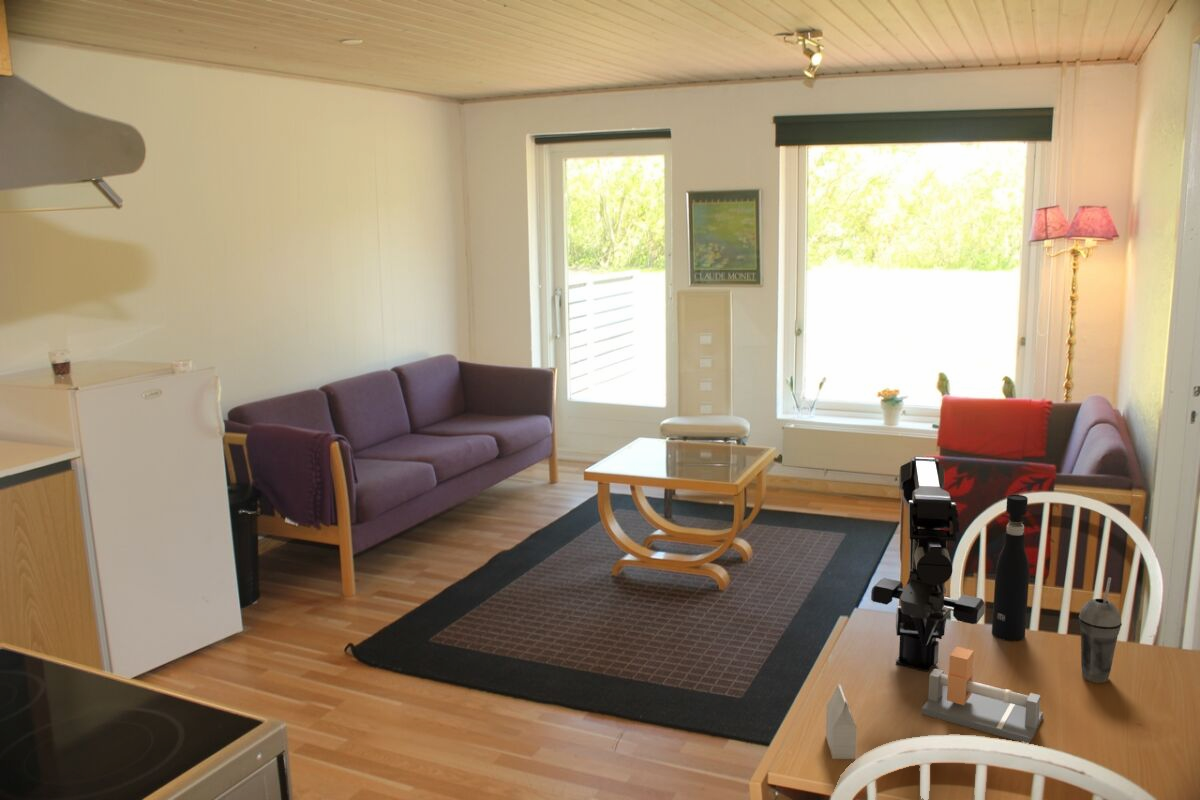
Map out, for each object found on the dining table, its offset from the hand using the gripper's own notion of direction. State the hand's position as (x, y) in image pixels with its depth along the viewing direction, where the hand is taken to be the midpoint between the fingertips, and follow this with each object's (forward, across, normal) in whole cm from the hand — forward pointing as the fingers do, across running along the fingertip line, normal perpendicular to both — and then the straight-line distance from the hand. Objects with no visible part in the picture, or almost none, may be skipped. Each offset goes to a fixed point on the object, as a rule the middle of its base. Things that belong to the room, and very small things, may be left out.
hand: (924, 644), depth 176 cm
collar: (+8, +7, 0) cm, 11 cm away
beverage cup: (+11, +24, +26) cm, 37 cm away
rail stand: (+11, +11, 0) cm, 15 cm away
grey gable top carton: (+11, -6, -23) cm, 27 cm away
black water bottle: (+11, +6, +36) cm, 38 cm away
